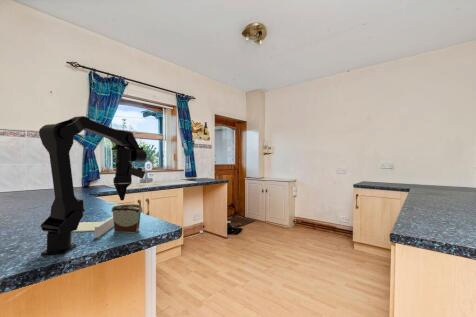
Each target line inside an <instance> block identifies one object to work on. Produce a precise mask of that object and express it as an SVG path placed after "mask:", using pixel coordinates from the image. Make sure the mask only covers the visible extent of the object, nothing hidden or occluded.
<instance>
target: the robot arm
mask: <svg viewBox="0 0 476 317" xmlns="http://www.w3.org/2000/svg"><path fill="white" fill-rule="evenodd" d="M83 131H86V132H89V133H91V134H94V135H97V136H100V137H102V138H106V139H107V140H109V141H110V142H111V143H113V144H115V145H114V146H113V147H111V150H112V151H115V165H114V166H115V174H114V177H113V180H112V181H113V186H114V189H115V190H116V193H117V194H118V197H119V200H120V201H125V197H126V193H127V189H128V187H129V186H131V185H132V181H133V179H132V176H133V177H137V178H138V179H139V178H140V179H142V180H143V179H144V177H145V174H146V171H144V170H143V168H141V167H137V168H135V167H133V164H132V162H134V163H137V162H139V163H142V162H143V163H144V162H145V161H146V159H147V158H148V157H147V156H148V155H147V152H146V151H145V150H144V147H143V146H140V145H139V143H138V141H137V139H136V137H135V135H134V133H133V132H131V131H127V130H120V129H115V128H113V127H110V126H107V125H105V124H102V123H100V122H98V121H95V120H94V119H91V118H89V117H87V116H85V115H81V116H80V115H79V116H73V117H72V118H69V119H66V120H64V121H60V122H57V123H51V124H49V123H48V124H45V125H43V126H42V127H41V128H39V130H38V135H39V138H40V141H41V144H42V146H43V147H44V149H45V150H46V151H47V153H48V155H49V161H50V169H51V177H52V184H53V185H52V186H53V192H54V199H53V202H52V204H51V207H50V215H49V216H48V217H47V218H46V219H45V220H44V221H43V222H42V223H41V225H40V228H41V230H42V232H47V234H46V249H45V250H43V251H42V252H40V255H41V256H43V255H63V254H65V253H67V252H69V251H71V250H72V249H73V248H75V247H77V243H72V241H73V240H72V235H73V232H72V231H74V230H77V228H78V225H79V223H81V220H82V218H83V217H84V213H85V212H86V210H85V207H84V199H78V198H77V197H76V195H75V190H74V182H73V175H72V174H73V173H72V172H73V171H72V165H71V157H70V156H71V155H70V151H71V149H72V147H73V145H74V138H75V137H74V136H76V135H78V134H80V133H81V132H83Z"/></svg>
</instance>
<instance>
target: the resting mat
mask: <svg viewBox="0 0 476 317" xmlns="http://www.w3.org/2000/svg"><path fill="white" fill-rule="evenodd" d="M102 222H103V221H90V222H89V221H87V222H79V225H78V228H77V230H74V231H72V233H81V232H82V233H83V232H84V233H85V232H87V233H89V232H95V227H96V226H97V225H99V224H101V223H102Z"/></svg>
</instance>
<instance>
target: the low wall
mask: <svg viewBox="0 0 476 317" xmlns="http://www.w3.org/2000/svg"><path fill="white" fill-rule="evenodd" d="M101 222H102V223H101V224H99V225H97V226H96V227H95V231H94V239H99V238H100V237H101V236H103V235H104V234H105V233H107V232H108V231H109V230H111V229H113V228H114V221H113V215H112V216H111V217H109V218H107V219H106V220H104V221H101Z"/></svg>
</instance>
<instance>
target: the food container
mask: <svg viewBox="0 0 476 317" xmlns="http://www.w3.org/2000/svg"><path fill="white" fill-rule="evenodd" d="M110 212H111V213H112V216H113V221H114V227H113V231H114V233H129V234H131V233H132V234H137V233H139V231H140V223H141V215H142V214H141V213H143V206H142V205H141V204H135V203H134V204H133V203H132V204H131V203H130V204H129V203H128V204H118V205H114V206H112V208H111V211H110Z"/></svg>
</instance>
